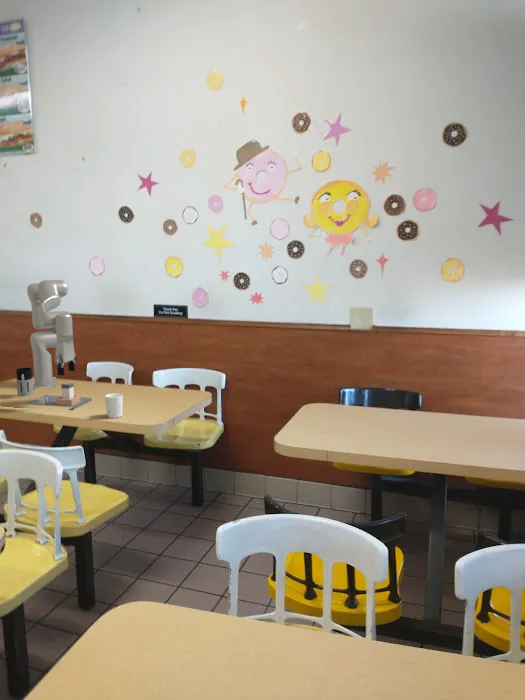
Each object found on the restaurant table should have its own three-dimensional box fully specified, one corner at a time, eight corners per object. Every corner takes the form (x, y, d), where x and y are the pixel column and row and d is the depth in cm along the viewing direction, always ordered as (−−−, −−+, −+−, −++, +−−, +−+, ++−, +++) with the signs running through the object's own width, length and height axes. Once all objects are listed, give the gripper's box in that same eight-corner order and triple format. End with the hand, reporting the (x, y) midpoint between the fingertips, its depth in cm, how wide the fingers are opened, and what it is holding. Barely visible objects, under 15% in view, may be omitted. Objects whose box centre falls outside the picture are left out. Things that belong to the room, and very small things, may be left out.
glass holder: (35, 394, 293) (33, 367, 291) (33, 400, 280) (31, 372, 277) (17, 395, 291) (15, 367, 288) (14, 402, 277) (12, 373, 275)
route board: (45, 397, 286) (45, 389, 285) (91, 400, 281) (91, 392, 280) (25, 407, 269) (24, 398, 268) (73, 410, 264) (72, 401, 263)
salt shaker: (66, 401, 273) (65, 382, 271) (74, 402, 272) (73, 382, 270) (62, 404, 269) (61, 384, 267) (70, 404, 268) (68, 384, 266)
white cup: (103, 418, 251) (102, 397, 249) (110, 413, 259) (109, 392, 257) (119, 418, 250) (118, 397, 248) (126, 414, 258) (125, 393, 256)
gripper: (67, 335, 274) (68, 368, 277) (47, 341, 257) (49, 376, 260) (81, 336, 273) (82, 369, 276) (62, 342, 256) (64, 377, 259)
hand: (66, 373), depth 268 cm, fingers open, 9 cm apart
